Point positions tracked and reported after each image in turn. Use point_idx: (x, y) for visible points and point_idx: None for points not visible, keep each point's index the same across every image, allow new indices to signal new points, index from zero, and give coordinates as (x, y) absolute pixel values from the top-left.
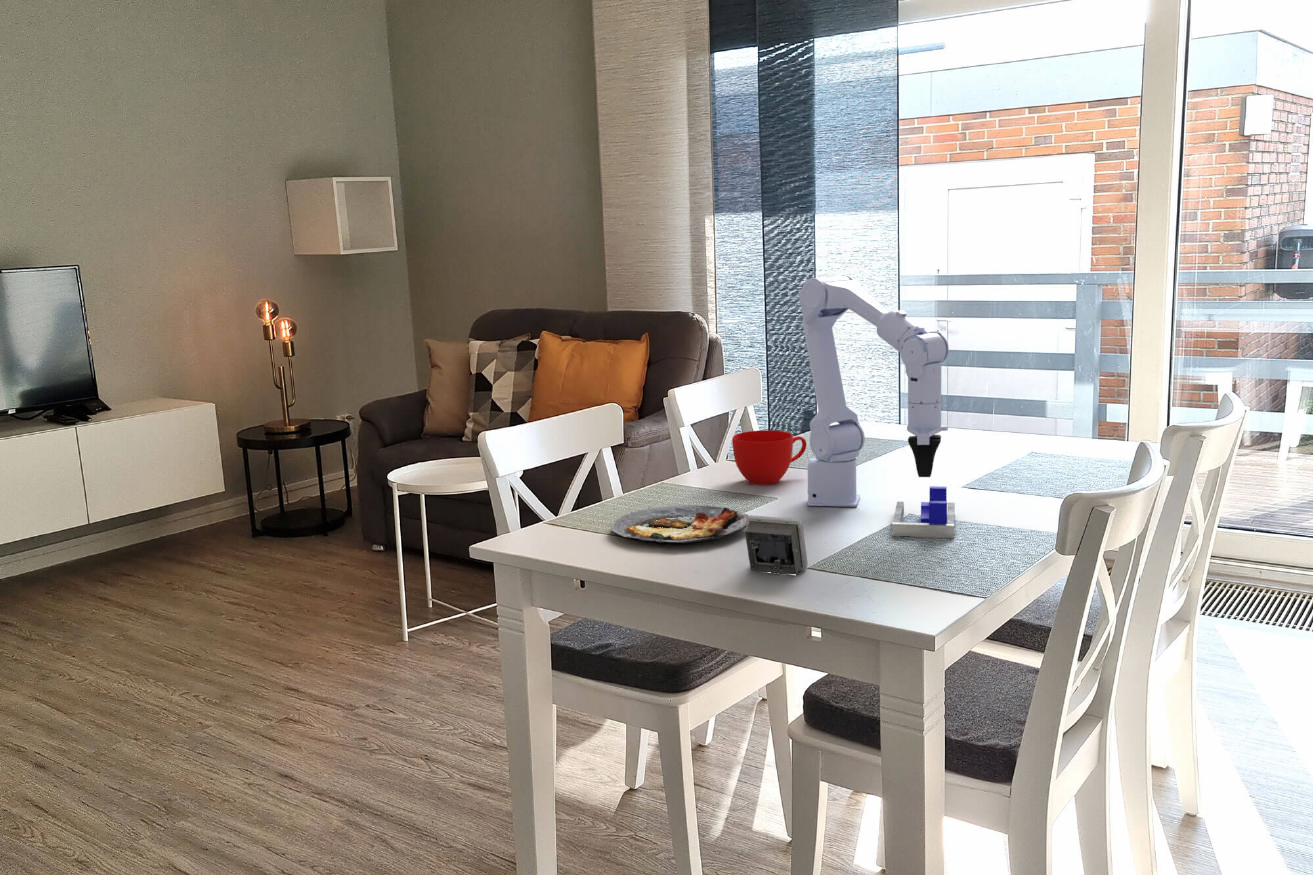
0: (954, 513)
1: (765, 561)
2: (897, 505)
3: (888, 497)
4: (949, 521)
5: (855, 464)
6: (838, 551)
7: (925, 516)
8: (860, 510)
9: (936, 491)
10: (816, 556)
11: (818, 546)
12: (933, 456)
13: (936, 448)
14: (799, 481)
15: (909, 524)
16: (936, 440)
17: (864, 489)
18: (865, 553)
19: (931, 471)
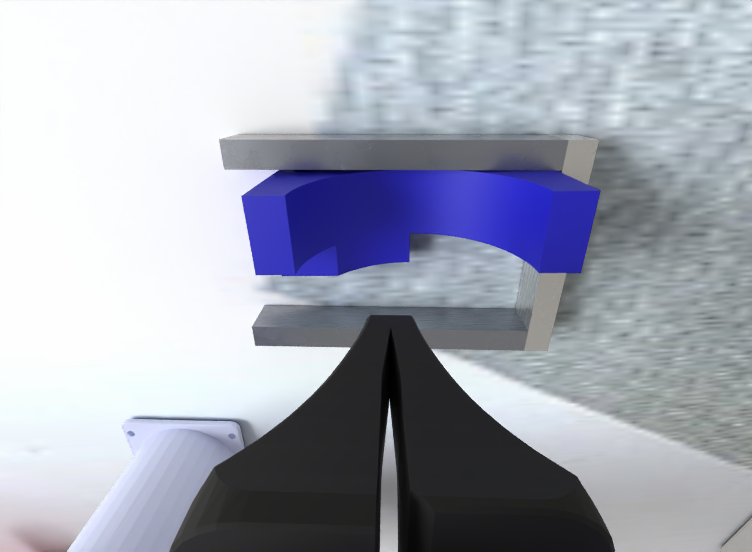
0: (292, 136)
1: (740, 545)
2: (306, 343)
3: (90, 351)
4: (527, 160)
5: (118, 544)
6: (658, 433)
7: (389, 247)
8: (263, 409)
9: (295, 238)
10: (689, 468)
11: (606, 469)
12: (472, 401)
13: (537, 455)
14: (31, 531)
15: (558, 302)
16: (508, 549)
17: (30, 410)
18: (692, 381)
19: (419, 330)
